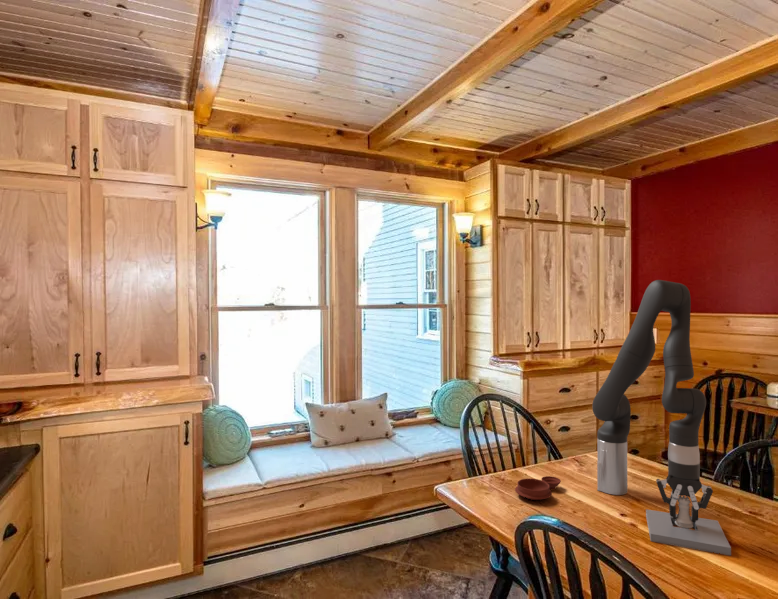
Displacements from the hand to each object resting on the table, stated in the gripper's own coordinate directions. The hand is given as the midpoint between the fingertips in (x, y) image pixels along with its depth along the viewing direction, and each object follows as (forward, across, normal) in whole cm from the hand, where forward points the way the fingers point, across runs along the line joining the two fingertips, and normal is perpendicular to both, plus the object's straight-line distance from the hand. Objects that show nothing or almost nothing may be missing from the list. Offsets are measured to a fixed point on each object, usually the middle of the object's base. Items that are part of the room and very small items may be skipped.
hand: (683, 519), depth 134 cm
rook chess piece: (+2, 0, 0) cm, 2 cm away
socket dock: (+3, 0, -2) cm, 4 cm away
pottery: (+4, -40, +10) cm, 42 cm away
